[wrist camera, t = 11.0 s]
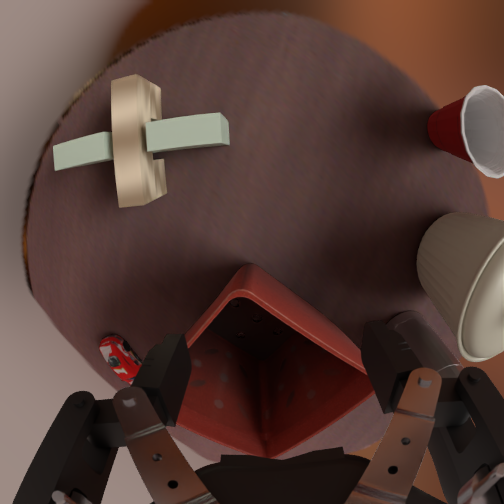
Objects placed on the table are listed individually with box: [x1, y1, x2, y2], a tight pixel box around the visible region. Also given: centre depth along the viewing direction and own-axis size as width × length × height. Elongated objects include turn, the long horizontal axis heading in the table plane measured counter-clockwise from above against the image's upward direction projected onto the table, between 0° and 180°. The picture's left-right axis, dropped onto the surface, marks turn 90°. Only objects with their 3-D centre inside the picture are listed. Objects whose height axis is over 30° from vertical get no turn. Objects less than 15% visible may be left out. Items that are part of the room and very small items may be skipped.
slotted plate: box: [111, 74, 167, 208], centre depth 29 cm, size 14×3×8 cm, turn 3°
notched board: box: [53, 113, 230, 171], centre depth 29 cm, size 20×3×8 cm, turn 93°
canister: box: [416, 212, 504, 362], centre depth 27 cm, size 18×18×21 cm
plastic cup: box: [427, 85, 504, 178], centre depth 25 cm, size 11×11×12 cm
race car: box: [99, 334, 143, 385], centre depth 43 cm, size 13×5×4 cm, turn 25°
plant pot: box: [176, 263, 375, 459], centre depth 33 cm, size 19×19×17 cm
